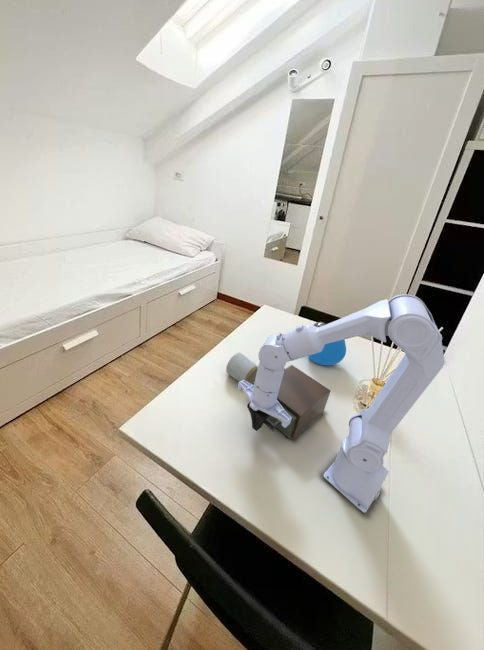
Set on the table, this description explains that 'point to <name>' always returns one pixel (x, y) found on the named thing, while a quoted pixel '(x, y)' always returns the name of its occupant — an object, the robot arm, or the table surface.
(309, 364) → the table surface
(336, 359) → the alarm clock
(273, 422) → the drawer
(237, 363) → the ceramic mug
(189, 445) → the table surface
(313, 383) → the cabinet
